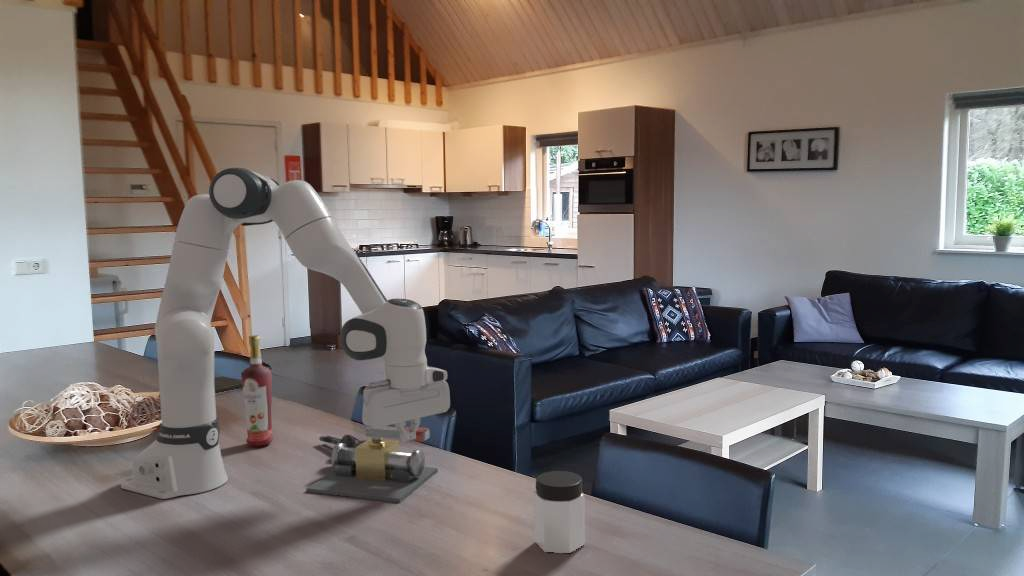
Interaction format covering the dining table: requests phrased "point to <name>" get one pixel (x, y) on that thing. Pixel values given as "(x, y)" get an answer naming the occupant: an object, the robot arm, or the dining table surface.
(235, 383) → the dark grey flat slab
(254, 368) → the liquor
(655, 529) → the dining table surface
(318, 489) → the mat
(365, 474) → the pipe valve
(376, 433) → the lever
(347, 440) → the valve
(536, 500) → the jar
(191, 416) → the robot arm
